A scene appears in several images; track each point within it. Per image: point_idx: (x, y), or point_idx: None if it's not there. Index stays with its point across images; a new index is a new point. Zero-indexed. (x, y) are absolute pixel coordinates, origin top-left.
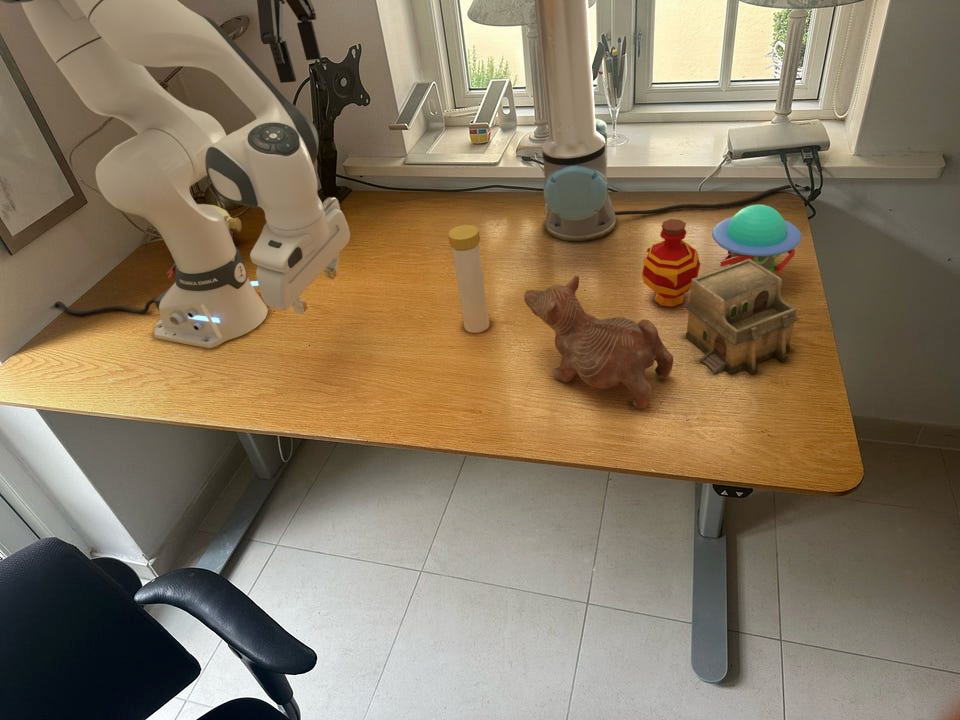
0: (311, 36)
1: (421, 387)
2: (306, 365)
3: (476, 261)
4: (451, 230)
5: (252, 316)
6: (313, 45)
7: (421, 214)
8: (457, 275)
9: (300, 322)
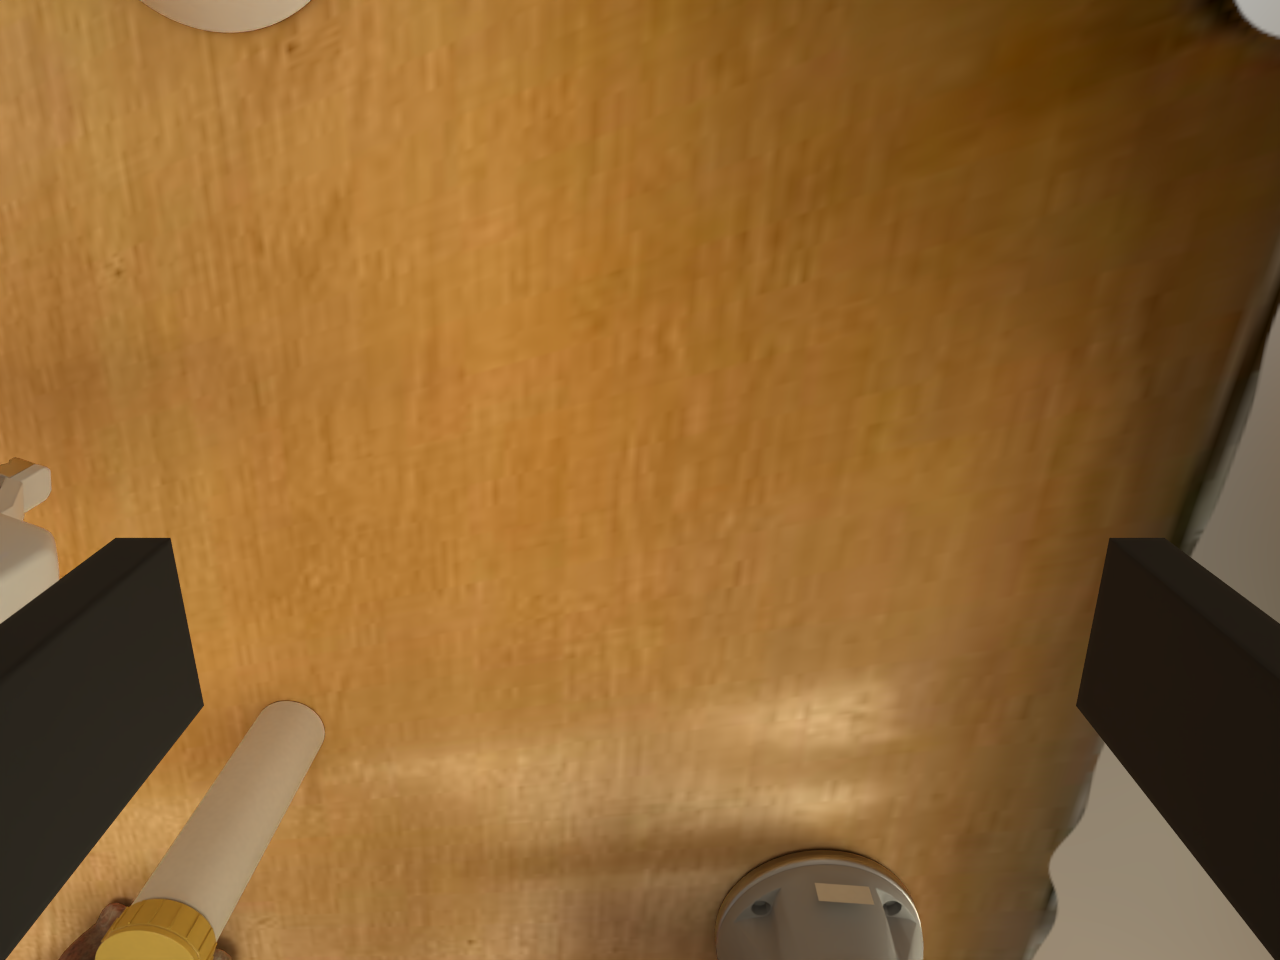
0: (1263, 893)
1: None
2: (21, 299)
3: None
4: (152, 936)
5: (161, 4)
6: (1179, 786)
7: (998, 448)
8: (183, 830)
9: (236, 189)
